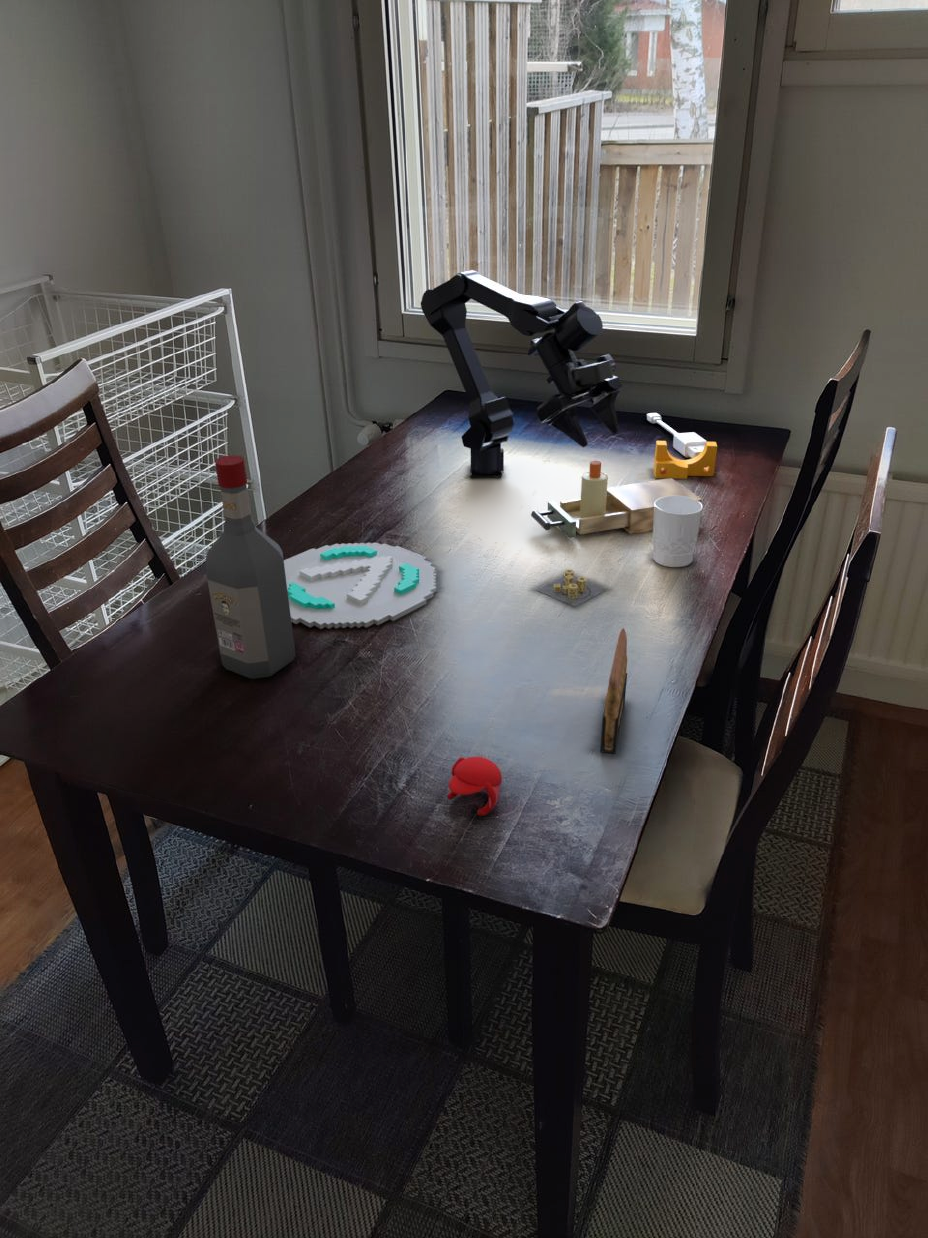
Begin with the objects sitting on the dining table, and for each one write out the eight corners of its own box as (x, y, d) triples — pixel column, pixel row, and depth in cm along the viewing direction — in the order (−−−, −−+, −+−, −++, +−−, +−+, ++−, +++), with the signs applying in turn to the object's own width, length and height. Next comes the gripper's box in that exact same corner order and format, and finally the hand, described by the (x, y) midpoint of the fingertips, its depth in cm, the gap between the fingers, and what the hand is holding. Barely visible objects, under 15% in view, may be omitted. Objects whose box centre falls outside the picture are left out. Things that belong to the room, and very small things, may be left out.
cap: (457, 777, 108) (456, 736, 105) (507, 785, 107) (507, 744, 104) (438, 823, 102) (437, 781, 99) (491, 832, 100) (491, 789, 97)
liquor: (261, 685, 126) (230, 478, 111) (213, 666, 130) (176, 465, 115) (305, 654, 132) (281, 455, 117) (258, 637, 137) (229, 443, 122)
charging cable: (659, 420, 224) (660, 407, 222) (714, 461, 195) (716, 446, 194) (639, 422, 223) (640, 408, 221) (692, 463, 195) (693, 448, 193)
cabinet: (630, 534, 166) (632, 510, 163) (602, 510, 175) (604, 487, 173) (699, 522, 170) (702, 499, 167) (668, 500, 179) (671, 477, 176)
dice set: (568, 578, 151) (568, 568, 150) (592, 589, 148) (593, 578, 147) (548, 589, 148) (548, 578, 147) (572, 600, 145) (573, 589, 144)
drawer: (548, 542, 162) (548, 525, 160) (526, 520, 170) (527, 504, 168) (636, 527, 166) (638, 511, 165) (611, 507, 174) (612, 491, 173)
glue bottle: (580, 522, 166) (583, 467, 161) (578, 512, 170) (581, 458, 165) (606, 522, 166) (610, 467, 161) (603, 512, 170) (607, 457, 165)
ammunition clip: (610, 702, 121) (616, 623, 115) (624, 704, 121) (631, 625, 114) (600, 752, 112) (606, 669, 106) (615, 754, 112) (622, 671, 106)
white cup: (700, 553, 159) (707, 499, 154) (690, 572, 152) (696, 517, 147) (655, 545, 161) (660, 492, 156) (643, 564, 155) (648, 509, 150)
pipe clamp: (655, 477, 189) (658, 447, 186) (653, 470, 193) (656, 440, 190) (714, 479, 188) (718, 448, 185) (711, 471, 192) (715, 441, 188)
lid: (471, 580, 151) (471, 571, 150) (340, 648, 134) (339, 638, 133) (358, 533, 168) (357, 525, 167) (229, 587, 150) (227, 579, 149)
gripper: (556, 351, 156) (599, 432, 156) (621, 331, 168) (661, 407, 168) (517, 383, 165) (558, 460, 165) (582, 362, 176) (620, 434, 176)
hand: (601, 439), depth 168 cm, fingers open, 9 cm apart
